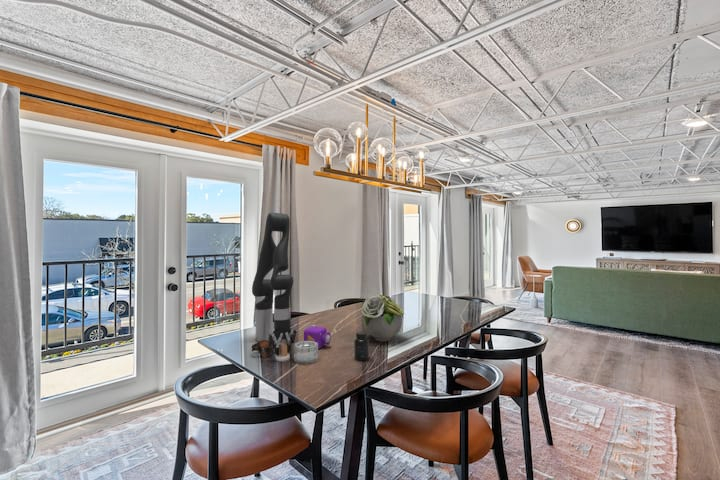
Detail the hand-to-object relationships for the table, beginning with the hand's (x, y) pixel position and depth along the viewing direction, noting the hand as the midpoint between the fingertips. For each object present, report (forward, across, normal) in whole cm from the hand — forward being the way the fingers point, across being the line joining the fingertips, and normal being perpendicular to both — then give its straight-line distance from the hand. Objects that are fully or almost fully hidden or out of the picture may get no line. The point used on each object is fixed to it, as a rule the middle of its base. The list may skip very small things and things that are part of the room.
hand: (282, 353), depth 160 cm
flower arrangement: (+3, -56, +7) cm, 56 cm away
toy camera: (+3, -22, -5) cm, 23 cm away
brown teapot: (+3, +4, -11) cm, 12 cm away
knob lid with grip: (+2, 0, 0) cm, 2 cm away
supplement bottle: (+3, -29, +23) cm, 37 cm away
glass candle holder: (+2, -8, +8) cm, 12 cm away
